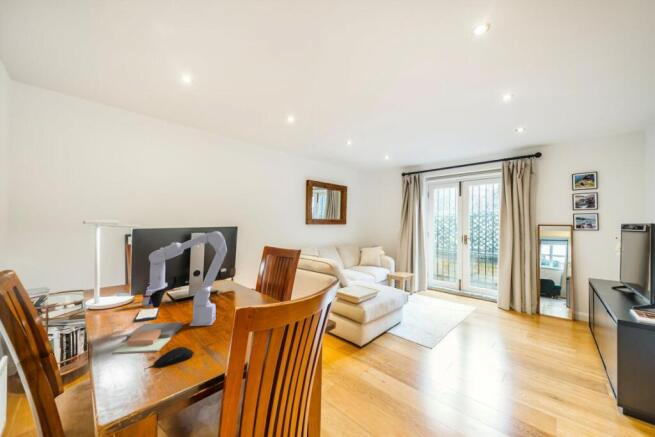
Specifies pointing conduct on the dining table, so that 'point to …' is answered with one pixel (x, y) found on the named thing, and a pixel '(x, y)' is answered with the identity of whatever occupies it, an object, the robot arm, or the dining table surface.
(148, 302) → the energy drink
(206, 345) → the dining table surface
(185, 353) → the gaming mouse
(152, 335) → the tile
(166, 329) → the riser
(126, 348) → the mat
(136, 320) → the smartphone
